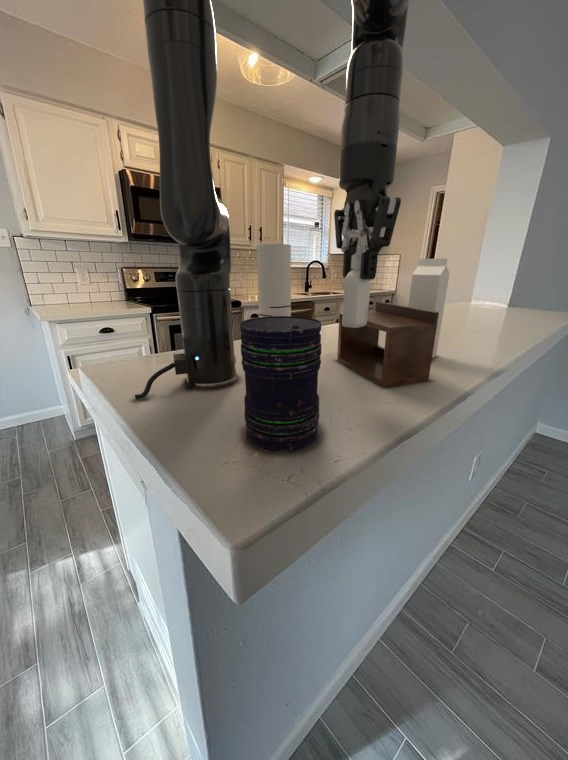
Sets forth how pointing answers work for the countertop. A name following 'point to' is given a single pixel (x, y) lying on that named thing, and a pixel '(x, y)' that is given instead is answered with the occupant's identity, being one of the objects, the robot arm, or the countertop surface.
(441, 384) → the countertop surface
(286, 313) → the cylindrical container
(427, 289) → the milk
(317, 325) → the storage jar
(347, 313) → the eye dropper bottle
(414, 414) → the countertop surface
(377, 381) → the spice rack
